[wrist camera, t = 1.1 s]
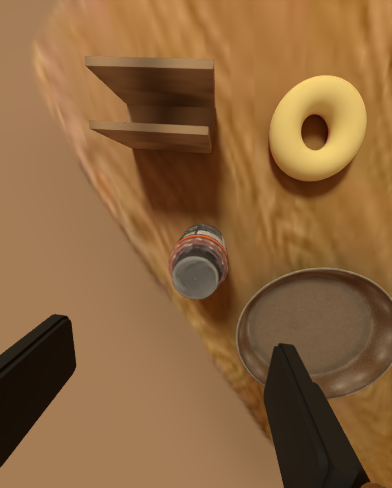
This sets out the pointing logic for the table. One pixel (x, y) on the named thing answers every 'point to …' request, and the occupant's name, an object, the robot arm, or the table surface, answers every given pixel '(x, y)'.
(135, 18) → the table surface
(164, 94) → the napkin holder
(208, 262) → the supplement bottle
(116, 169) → the table surface
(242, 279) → the table surface
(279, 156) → the donut
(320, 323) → the plant saucer
